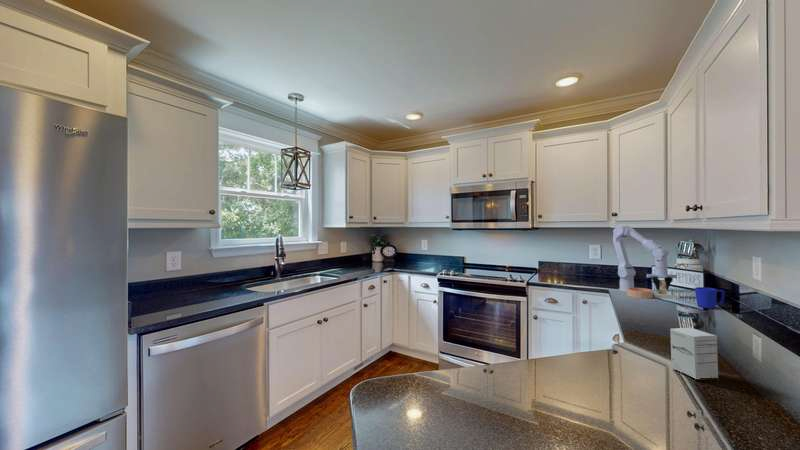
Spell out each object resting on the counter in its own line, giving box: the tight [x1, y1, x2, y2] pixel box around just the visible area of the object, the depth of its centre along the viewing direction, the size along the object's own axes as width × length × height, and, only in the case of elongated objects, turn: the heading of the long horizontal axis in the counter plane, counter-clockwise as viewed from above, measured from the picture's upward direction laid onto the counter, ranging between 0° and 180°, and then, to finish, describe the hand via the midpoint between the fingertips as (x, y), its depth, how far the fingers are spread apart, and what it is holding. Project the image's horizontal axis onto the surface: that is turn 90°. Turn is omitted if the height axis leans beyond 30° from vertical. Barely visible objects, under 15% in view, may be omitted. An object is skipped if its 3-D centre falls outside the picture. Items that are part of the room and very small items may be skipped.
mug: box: [694, 286, 725, 310], centre depth 160 cm, size 8×12×10 cm
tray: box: [653, 290, 681, 300], centre depth 187 cm, size 12×12×2 cm
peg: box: [657, 279, 668, 294], centre depth 187 cm, size 4×4×8 cm
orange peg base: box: [626, 287, 654, 299], centre depth 188 cm, size 13×13×5 cm
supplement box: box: [669, 327, 719, 379], centre depth 89 cm, size 7×7×13 cm
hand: (662, 289), depth 187 cm, fingers closed on peg, 4 cm apart
